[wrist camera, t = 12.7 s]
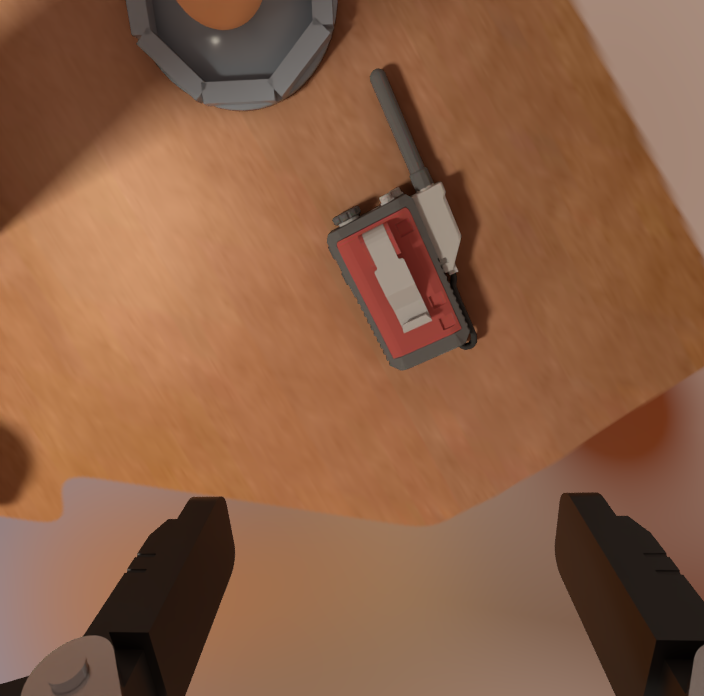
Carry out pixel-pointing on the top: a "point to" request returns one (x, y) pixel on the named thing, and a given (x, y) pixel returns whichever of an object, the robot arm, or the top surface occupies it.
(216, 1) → the ball
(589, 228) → the top surface
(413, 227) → the walkie-talkie
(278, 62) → the dish
